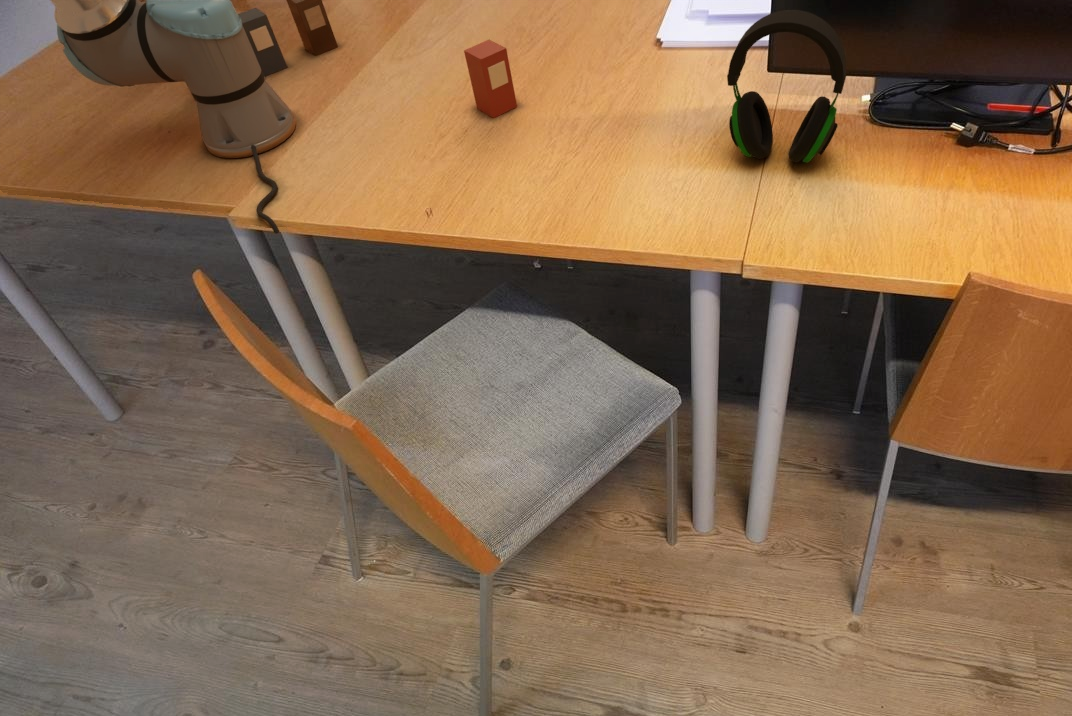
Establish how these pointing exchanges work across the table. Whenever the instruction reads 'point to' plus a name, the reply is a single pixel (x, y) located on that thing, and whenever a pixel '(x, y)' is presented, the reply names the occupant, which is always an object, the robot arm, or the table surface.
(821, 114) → the headphones
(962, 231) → the table surface
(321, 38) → the line block
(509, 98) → the red box
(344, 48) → the table surface
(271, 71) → the line block
